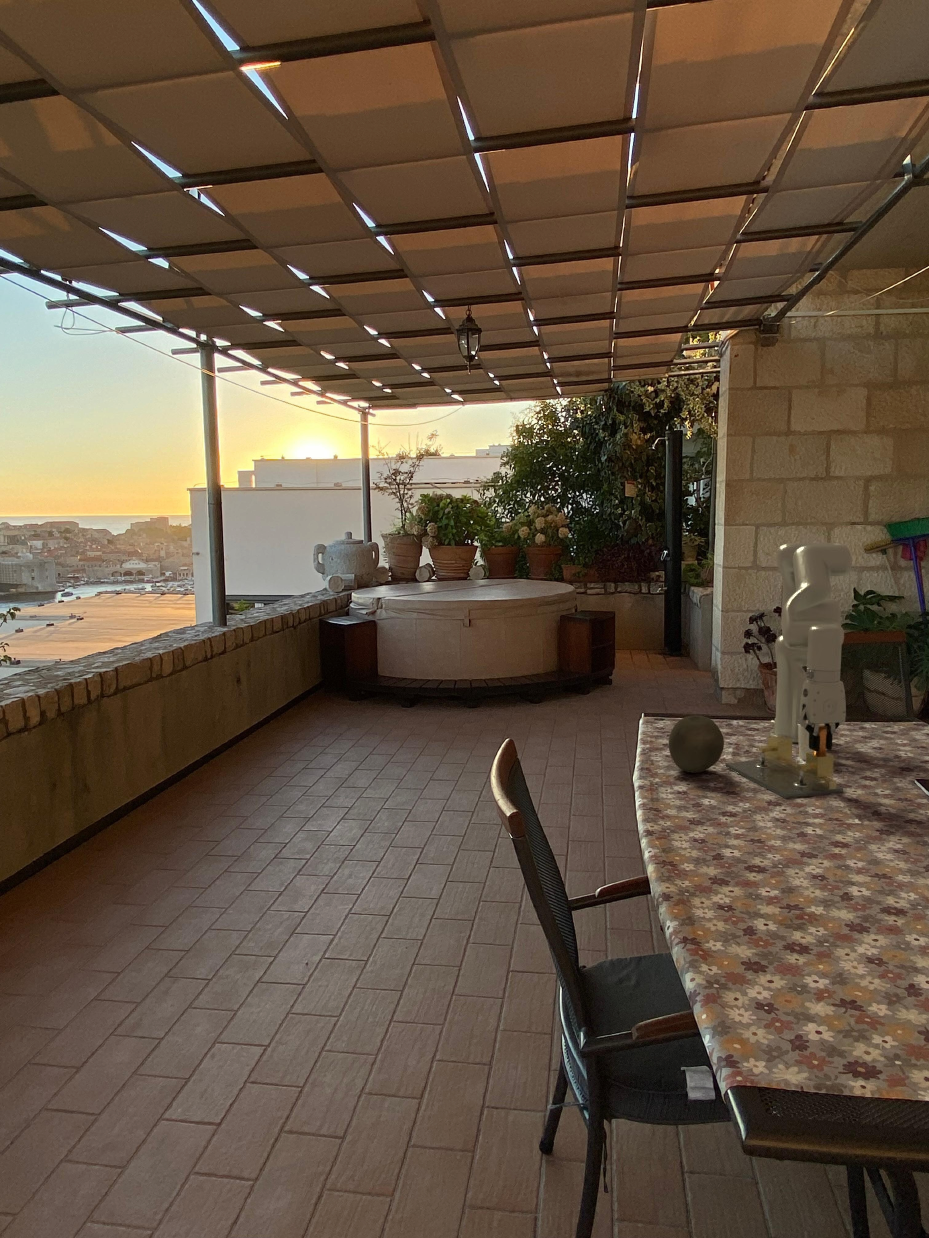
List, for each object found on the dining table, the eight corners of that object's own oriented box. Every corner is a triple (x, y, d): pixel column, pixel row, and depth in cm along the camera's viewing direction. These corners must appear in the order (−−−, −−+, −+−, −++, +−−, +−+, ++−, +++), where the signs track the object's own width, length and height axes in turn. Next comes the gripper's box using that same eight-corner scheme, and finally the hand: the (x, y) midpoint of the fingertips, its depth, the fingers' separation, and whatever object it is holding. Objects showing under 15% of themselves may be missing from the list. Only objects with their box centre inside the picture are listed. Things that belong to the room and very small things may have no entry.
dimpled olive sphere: (661, 776, 216) (662, 719, 214) (675, 761, 228) (676, 708, 226) (717, 784, 209) (719, 725, 207) (728, 768, 221) (729, 713, 220)
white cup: (823, 764, 224) (825, 728, 223) (793, 759, 229) (794, 723, 228) (831, 757, 230) (832, 722, 229) (801, 752, 235) (802, 718, 234)
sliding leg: (792, 780, 206) (794, 726, 205) (820, 777, 208) (822, 723, 207) (804, 785, 202) (806, 730, 201) (832, 782, 204) (834, 727, 202)
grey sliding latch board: (725, 766, 223) (725, 737, 222) (777, 761, 227) (778, 733, 226) (785, 798, 198) (786, 765, 197) (843, 792, 202) (844, 759, 201)
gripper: (804, 680, 197) (801, 756, 199) (862, 676, 201) (859, 750, 203) (784, 675, 204) (781, 747, 206) (841, 671, 208) (838, 742, 210)
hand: (820, 748), depth 205 cm, fingers closed on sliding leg, 2 cm apart
